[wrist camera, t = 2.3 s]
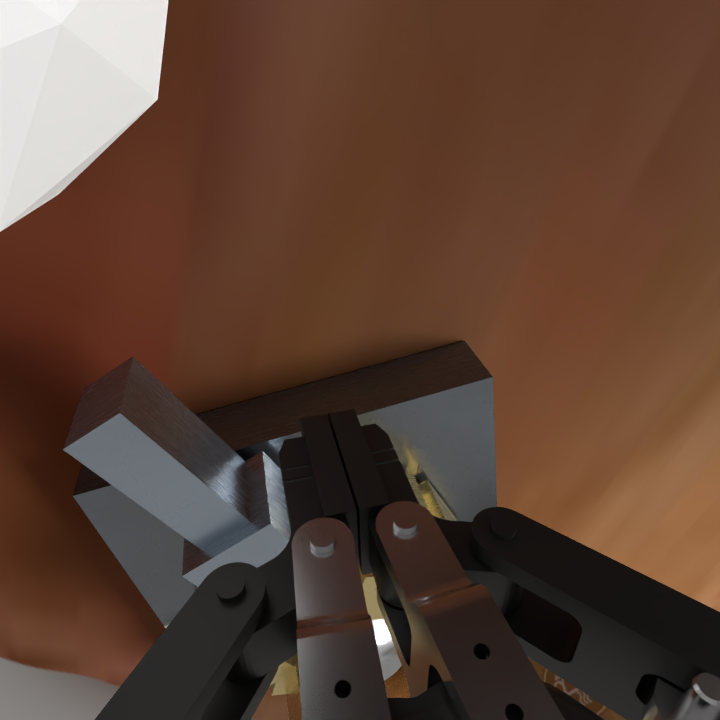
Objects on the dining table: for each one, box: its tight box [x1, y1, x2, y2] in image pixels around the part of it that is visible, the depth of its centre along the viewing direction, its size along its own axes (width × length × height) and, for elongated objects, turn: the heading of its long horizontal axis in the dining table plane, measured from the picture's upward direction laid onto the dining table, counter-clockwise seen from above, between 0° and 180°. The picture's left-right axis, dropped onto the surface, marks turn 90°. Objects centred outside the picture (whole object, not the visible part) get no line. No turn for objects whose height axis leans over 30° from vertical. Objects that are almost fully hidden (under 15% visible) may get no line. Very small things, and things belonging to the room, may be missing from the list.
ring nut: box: [63, 357, 458, 720], centre depth 21 cm, size 21×12×5 cm, turn 30°
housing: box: [73, 341, 497, 681], centre depth 25 cm, size 17×17×8 cm
